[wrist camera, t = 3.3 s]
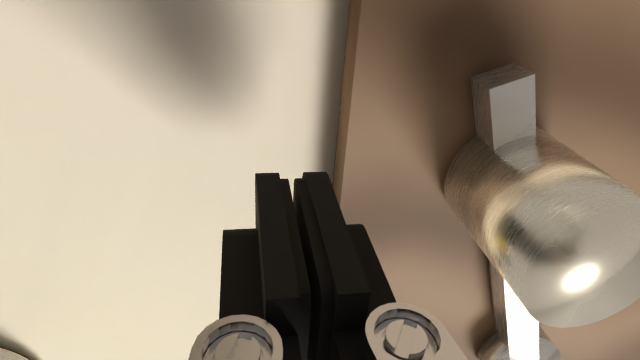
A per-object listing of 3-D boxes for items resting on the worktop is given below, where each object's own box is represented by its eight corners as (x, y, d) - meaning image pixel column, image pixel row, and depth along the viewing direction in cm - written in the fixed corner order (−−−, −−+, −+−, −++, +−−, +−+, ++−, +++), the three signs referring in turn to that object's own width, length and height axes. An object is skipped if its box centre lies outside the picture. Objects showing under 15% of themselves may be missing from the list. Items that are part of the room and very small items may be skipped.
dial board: (357, -82, 11) (372, -82, 9) (905, -37, 14) (968, -34, 13) (313, 395, 20) (318, 425, 19) (644, 357, 23) (666, 380, 22)
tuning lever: (428, 91, 12) (518, 170, 8) (555, 48, 12) (706, 107, 8) (474, 381, 19) (532, 493, 15) (551, 355, 19) (629, 461, 15)
